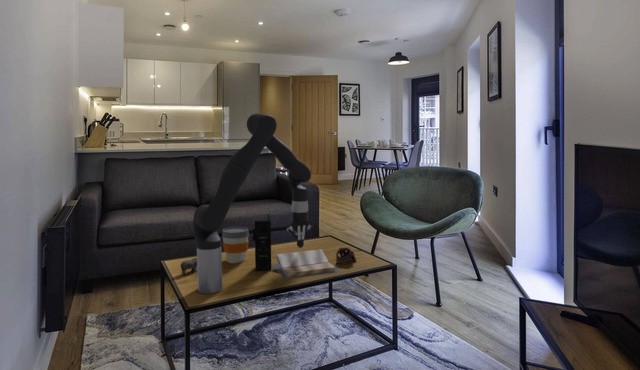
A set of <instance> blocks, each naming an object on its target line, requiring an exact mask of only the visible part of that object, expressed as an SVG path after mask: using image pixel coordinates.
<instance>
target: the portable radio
mask: <svg viewBox="0 0 640 370" xmlns="http://www.w3.org/2000/svg"><path fill="white" fill-rule="evenodd" d="M267 215H268V217H267V218H255V219H254V220H253V221H254V227H253V229H252V242H254V261H255V262H254V265H255V272H266V271H272V266H271V264H272V229H271V228H272V227H271V226H272V222H271V218H270V213H267Z"/></svg>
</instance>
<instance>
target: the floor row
mask: <svg viewBox="0 0 640 370" xmlns="http://www.w3.org/2000/svg"><path fill="white" fill-rule="evenodd" d="M335 268H336V266H334V265H333V264H332V263H330V262H328V263H321V264H313V265H305V266H298V267H290V268H283V273H284V274H285V275H286V276H287V277H295V276H302V275H310V274H317V273H324V272H332V271H335Z"/></svg>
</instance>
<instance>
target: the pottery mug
mask: <svg viewBox="0 0 640 370" xmlns="http://www.w3.org/2000/svg"><path fill="white" fill-rule="evenodd" d="M335 255H336V256H335V257H336V258H335V261H336V264H339V263H340V264H342V263H347V262H349V261H354V262H355V263H356V262H357V258H356V256H355V252H354V251H353V250H351V248H349V247H339V249H338V250H337V251H336V254H335Z"/></svg>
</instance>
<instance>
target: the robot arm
mask: <svg viewBox="0 0 640 370" xmlns="http://www.w3.org/2000/svg"><path fill="white" fill-rule="evenodd" d="M277 124H278V123H277V119H276V118H275V117H274V116H272V115H270V114H264V113H253V114H251V115H250V116H248V118H247V121H246V128H247V131H248V132H249V133H250V135H251V137H250V138H249V140H248V141H247V143H245V145H244V146H242V147H241V148H240V149H238V150H237V151H236V152H235V153H234V154H232V156H230V158H229V160H228V161H227V163H226V165H225V166H224V168H223V170H222V172H221V174H220V177H219V178H220V179H219V183H218V186H217V187H218V188H217V191H216V193H215V195H214V197H213V199H211V202H210V203H209V204H202V205H200V206H198V207H197V208H196V209H195V211H194V214H193V221H192V222H193V233H194V240H195V243H196V244H195V245H196V258H197V268H196V271H197V272H196V282H197V283H196V284H197V285H196V287H197V291H198V294H205V295H207V294H215V293H219V292H221V291H222V290H223V262H222V261H223V259H222V256H223V255H222V239H221V237H220V235H219V232H218V229H220V227H222V225H223V223H224V221H225V219H226V217H227V215H228V212H229V211H230V208H231V205H232V203H233V201H234V199H235V198H236V197H237V194H238V193H239V191H240V189H241V188H242V186H243V184H244V183H245V181H246V179H247V178H248V176H249V174H250V172H251V171H252V169H253V167H254V165H255V163H256V161H257V160H258V158H259V157H260V155H261V153H262V152H263V150H264V148H267V150H269V152H271V154H272V155H273V156H274V157H275V158H276V159H277V161H278V162H279V163H280V165H282V167H283V168H284V169H285V170H286V171H288V174H287V175H288V177H287V179H288V182H289V185H290V189H291V223H290V226H289V227H287V228H286V231H287V232H288V233H289V235H290V236H291V238H293V239H294V240H296V246H297V247H298V248H300V249H301V248H303V247H304V244H305V243H304V241H305V239H308V237H309V235H310V234H311V233H312V232H313V230H314V226H312V225H311V224H310V222H309V202H308V201H309V200H308V189H307V188H306V187H304V186H303V185H302V183H303V184H304V183H308V182H309V181H310V180H311V178H312V172H311V169H310V168H309V167H308V165H306V164H305V163H303V162H302V161H301V160H300V159H299V158H298V157H297V156H296V155H295V154H294V152H293V151H292V150H291V148H289V146H287V145H286V144H285V143H283V142H282V141H281V140H280V139H278V138H277V136H276V135H275V133H276V130H277V127H278V126H277ZM293 231H294V232H295V233H294V232H293Z"/></svg>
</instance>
